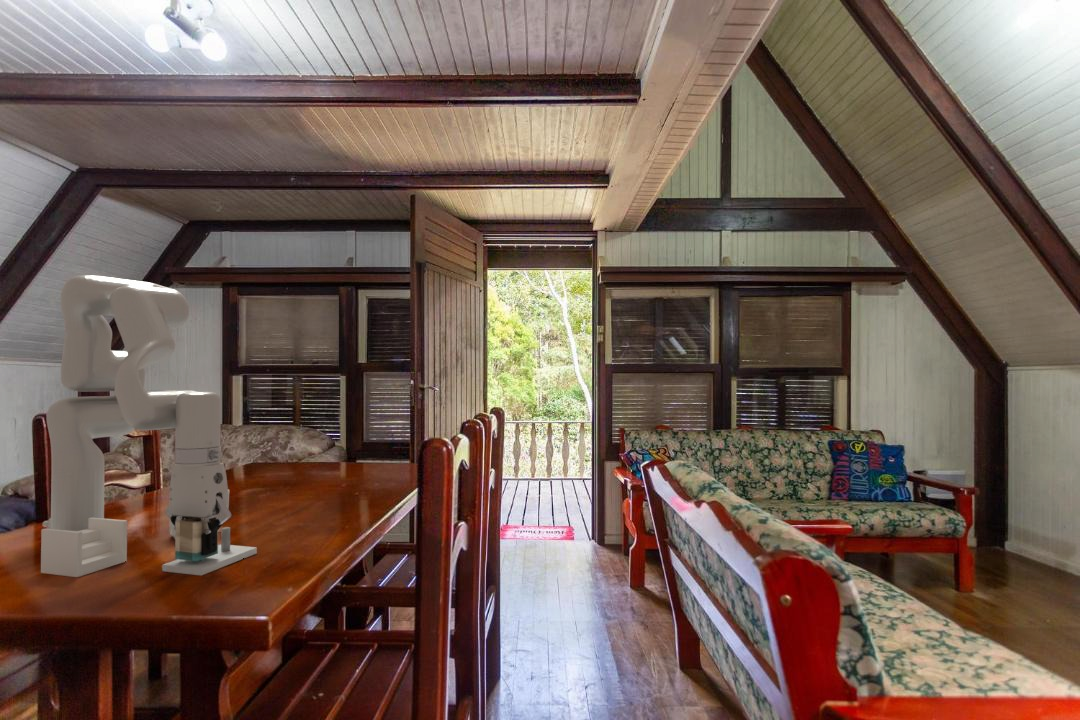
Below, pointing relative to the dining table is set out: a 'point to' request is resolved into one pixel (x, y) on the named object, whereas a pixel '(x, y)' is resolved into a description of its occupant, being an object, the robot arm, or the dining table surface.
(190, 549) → the sleeve
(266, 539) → the dining table surface
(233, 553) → the pin board
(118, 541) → the white stepped block
